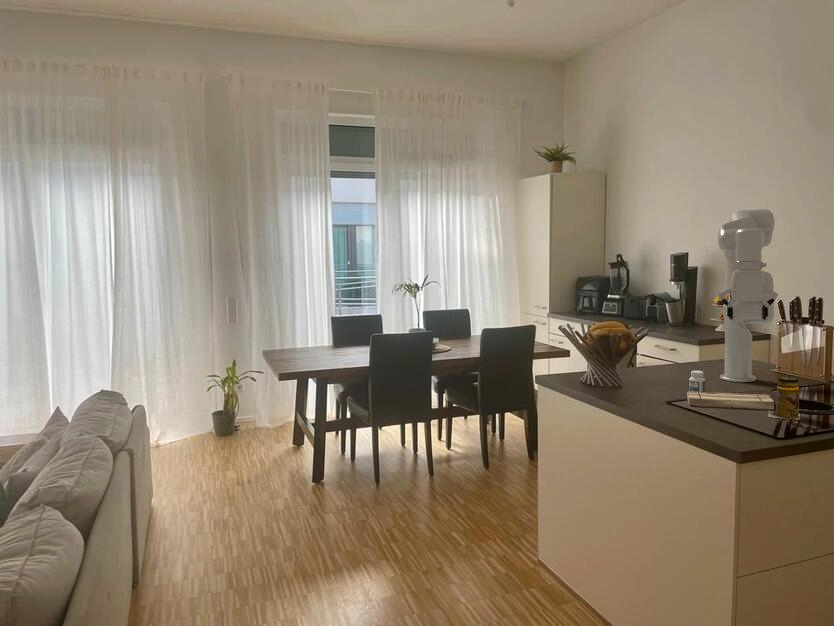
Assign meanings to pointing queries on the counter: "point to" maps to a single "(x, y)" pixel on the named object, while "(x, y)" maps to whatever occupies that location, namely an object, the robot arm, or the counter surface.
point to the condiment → (787, 399)
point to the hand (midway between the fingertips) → (747, 319)
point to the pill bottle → (697, 382)
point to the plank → (730, 400)
